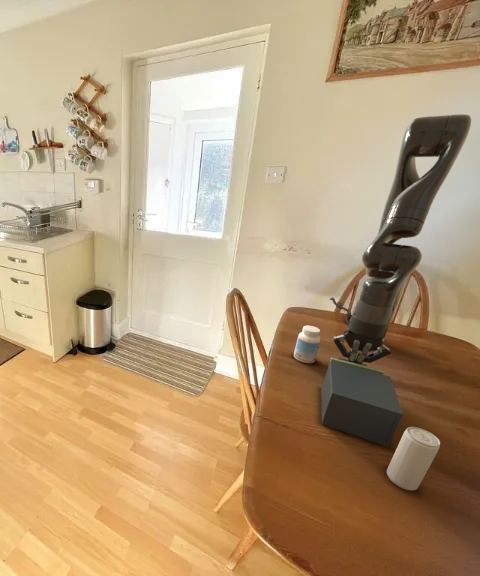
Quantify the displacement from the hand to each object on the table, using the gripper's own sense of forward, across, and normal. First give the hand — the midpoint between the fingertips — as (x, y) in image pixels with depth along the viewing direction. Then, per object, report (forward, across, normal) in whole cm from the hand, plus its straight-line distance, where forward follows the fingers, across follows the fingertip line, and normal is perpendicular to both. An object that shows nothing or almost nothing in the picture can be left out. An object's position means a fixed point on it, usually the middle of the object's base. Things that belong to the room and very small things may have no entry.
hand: (351, 370), depth 90 cm
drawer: (+4, 0, +7) cm, 8 cm away
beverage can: (+5, -7, +32) cm, 33 cm away
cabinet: (+4, 0, +15) cm, 16 cm away
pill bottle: (+5, +11, -8) cm, 15 cm away
